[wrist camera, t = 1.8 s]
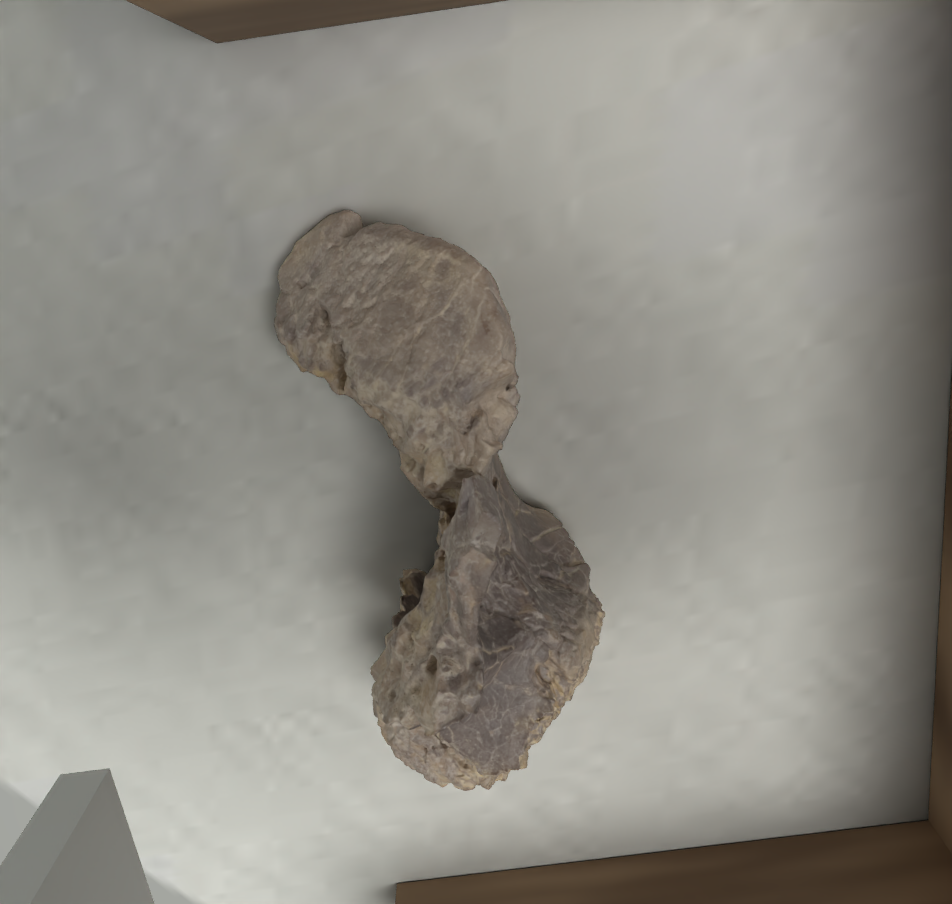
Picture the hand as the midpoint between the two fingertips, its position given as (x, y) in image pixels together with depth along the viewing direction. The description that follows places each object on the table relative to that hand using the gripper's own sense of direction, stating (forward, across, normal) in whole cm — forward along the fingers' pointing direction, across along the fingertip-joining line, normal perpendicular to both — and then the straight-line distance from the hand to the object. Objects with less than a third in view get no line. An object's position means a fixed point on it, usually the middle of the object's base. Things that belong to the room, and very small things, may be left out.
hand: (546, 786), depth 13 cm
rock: (+10, -2, +1) cm, 11 cm away
